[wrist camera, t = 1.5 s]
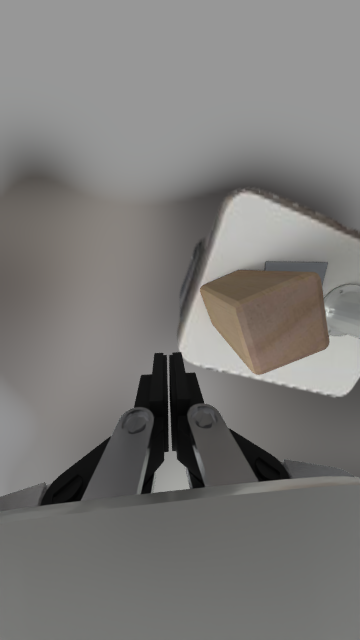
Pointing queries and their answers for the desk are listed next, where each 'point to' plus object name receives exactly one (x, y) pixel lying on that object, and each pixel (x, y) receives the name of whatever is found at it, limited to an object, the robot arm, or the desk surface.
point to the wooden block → (268, 316)
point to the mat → (298, 267)
